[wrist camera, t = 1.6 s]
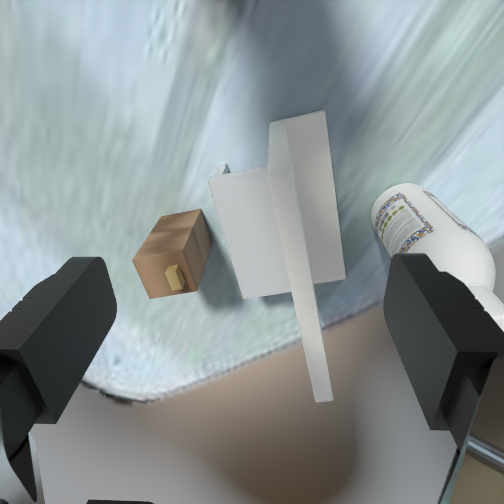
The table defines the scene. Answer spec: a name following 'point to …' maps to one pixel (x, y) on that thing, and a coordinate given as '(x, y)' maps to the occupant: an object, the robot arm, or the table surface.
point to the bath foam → (436, 240)
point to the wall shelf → (286, 227)
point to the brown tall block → (174, 254)
